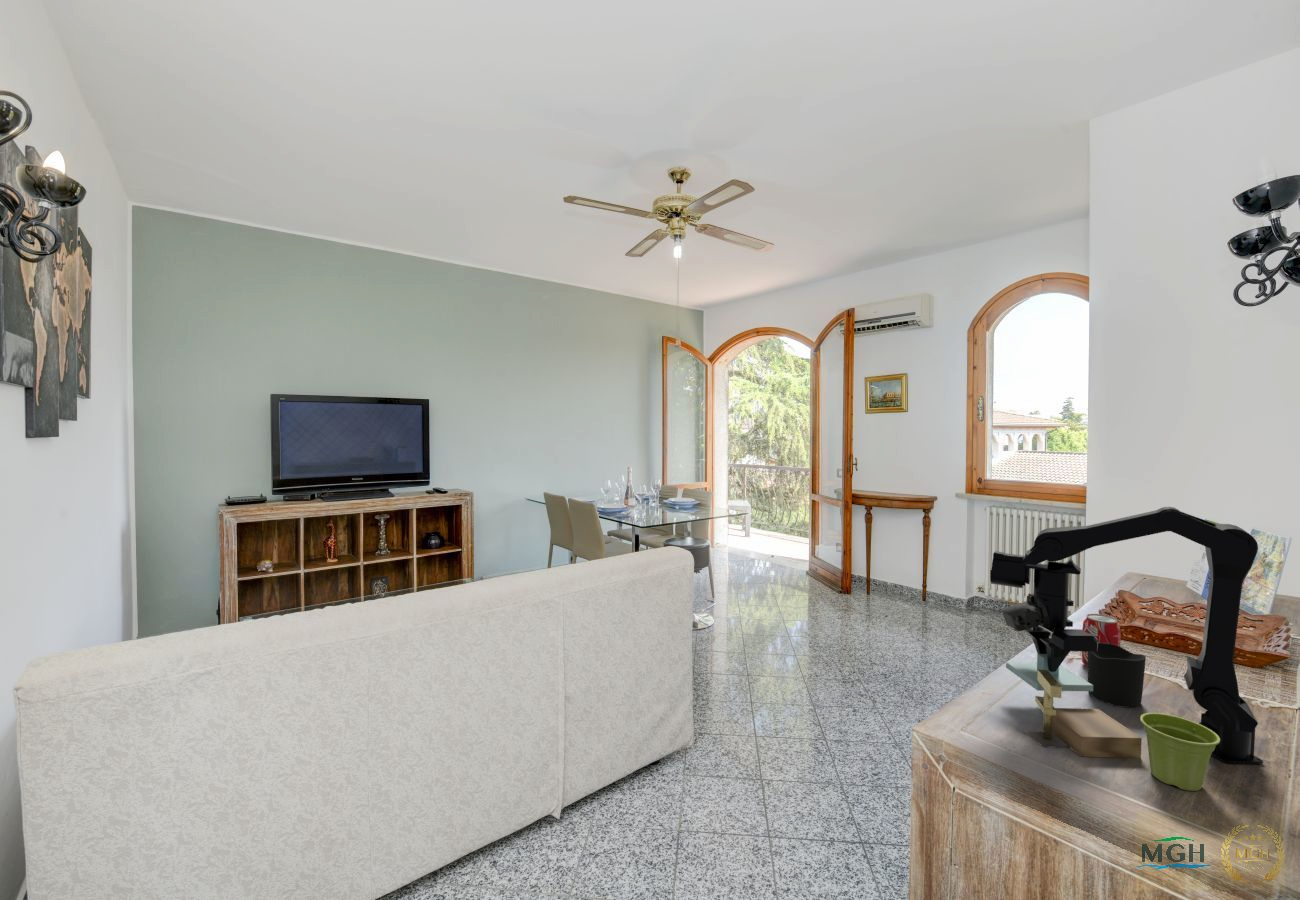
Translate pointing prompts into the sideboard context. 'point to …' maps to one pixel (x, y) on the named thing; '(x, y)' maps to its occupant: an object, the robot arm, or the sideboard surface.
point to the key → (1047, 700)
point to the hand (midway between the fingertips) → (1048, 668)
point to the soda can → (1101, 631)
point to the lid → (1061, 675)
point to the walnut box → (1090, 734)
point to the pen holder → (1116, 675)
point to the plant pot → (1178, 749)
